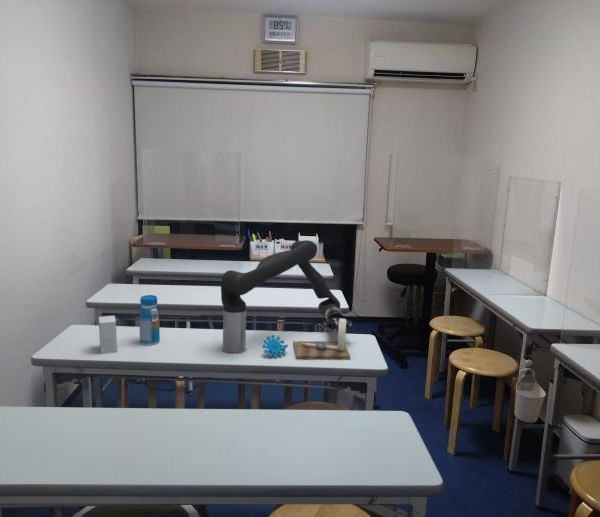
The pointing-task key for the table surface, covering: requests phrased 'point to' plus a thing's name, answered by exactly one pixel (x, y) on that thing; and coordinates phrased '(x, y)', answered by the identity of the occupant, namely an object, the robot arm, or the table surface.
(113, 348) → the small box
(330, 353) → the wooden cutting board
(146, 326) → the beverage bottle
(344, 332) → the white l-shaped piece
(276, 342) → the blue spiky ball
